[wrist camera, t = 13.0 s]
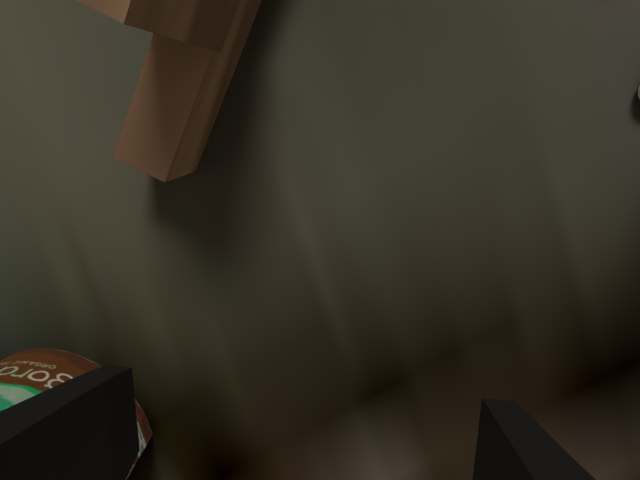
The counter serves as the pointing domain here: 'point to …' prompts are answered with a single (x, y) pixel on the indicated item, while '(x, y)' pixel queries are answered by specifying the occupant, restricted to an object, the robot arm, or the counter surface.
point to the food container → (51, 380)
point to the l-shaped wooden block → (178, 77)
